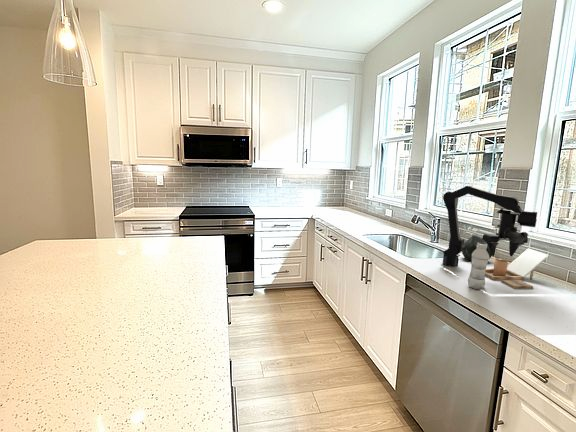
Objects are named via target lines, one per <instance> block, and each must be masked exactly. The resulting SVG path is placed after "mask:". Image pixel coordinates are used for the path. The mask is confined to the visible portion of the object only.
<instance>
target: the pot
mask: <svg viewBox="0 0 576 432" xmlns="http://www.w3.org/2000/svg"><path fill="white" fill-rule="evenodd" d="M508 265H509V260H508V259H505V258H501V257H496V258H495V259H494V263H493V267H492V269H493V276H506V272H507V266H508Z"/></svg>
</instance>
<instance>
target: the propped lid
mask: <svg viewBox="0 0 576 432" xmlns="http://www.w3.org/2000/svg"><path fill="white" fill-rule="evenodd" d="M548 257H550V255H549V254H548V253H544V252H542V251H539V250H534V249H532V248H527V249H526V250H525V251H523V252H522V253H521V254H520V255H519V256H517V257H516V258H515V259H514V260H513V261H512V262H510V263H508V266H507V270H509V271H511V272H513V273H515V274H518V275H520V276H522V277H524V278H526V276H528V275H529V280H533V279H534V278H533V277H534V273H535V272H534V271H535V269H536V268H537V267H538V266H539V265H541V263H543V262H544V261H545V260H546V259H547V258H548Z"/></svg>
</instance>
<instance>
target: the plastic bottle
mask: <svg viewBox="0 0 576 432" xmlns="http://www.w3.org/2000/svg"><path fill="white" fill-rule="evenodd" d="M476 247H477V249H476V250H474V251H473V253H472V261H471V269H470V272H469V276H468V278H467V285H468V287H469V288H471V289H474V290H480V291H481V290H483V289H485V287H486V276H485V270H486V269H487V266H488V263H489V260H490V259H489V254H488V252H487V251H486V249H487V244H486V243H480V242H478V243H477V246H476Z"/></svg>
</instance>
